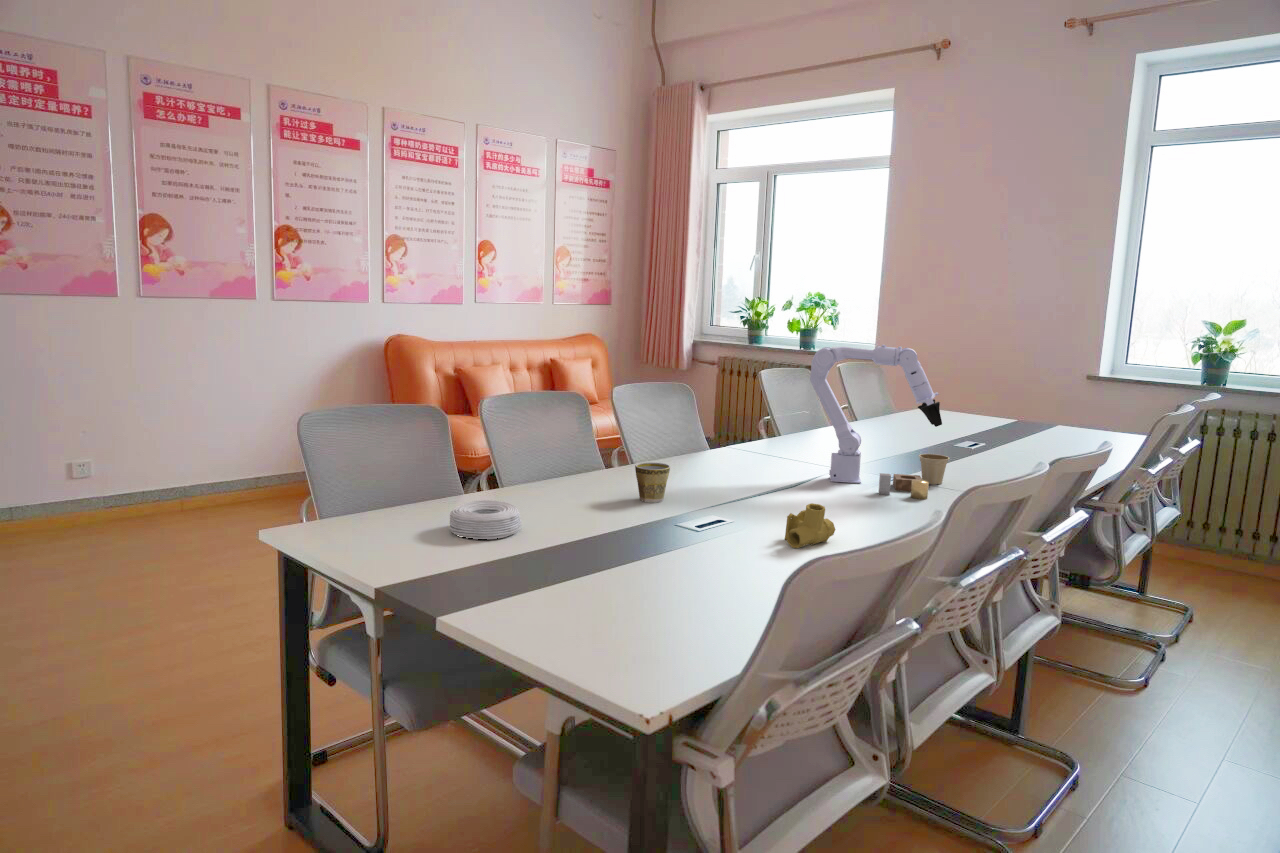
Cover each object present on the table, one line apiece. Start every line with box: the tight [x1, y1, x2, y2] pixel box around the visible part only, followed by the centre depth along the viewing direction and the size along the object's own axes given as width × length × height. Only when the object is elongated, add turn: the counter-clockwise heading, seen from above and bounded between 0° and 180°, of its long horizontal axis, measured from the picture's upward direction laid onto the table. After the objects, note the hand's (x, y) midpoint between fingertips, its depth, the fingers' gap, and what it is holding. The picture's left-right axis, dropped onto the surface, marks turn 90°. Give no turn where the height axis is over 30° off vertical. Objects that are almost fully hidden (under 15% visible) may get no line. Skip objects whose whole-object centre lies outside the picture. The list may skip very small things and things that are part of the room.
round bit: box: [910, 480, 930, 501], centre depth 256 cm, size 5×5×5 cm
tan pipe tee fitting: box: [784, 503, 836, 549], centre depth 207 cm, size 13×10×10 cm
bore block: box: [892, 473, 922, 492], centre depth 268 cm, size 8×8×4 cm
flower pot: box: [918, 453, 950, 486], centre depth 277 cm, size 9×9×9 cm
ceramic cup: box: [634, 462, 671, 503], centre depth 246 cm, size 13×10×10 cm
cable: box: [449, 499, 522, 540], centre depth 210 cm, size 18×18×6 cm
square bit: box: [878, 472, 892, 496], centre depth 260 cm, size 3×3×6 cm
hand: (937, 424), depth 266 cm, fingers open, 7 cm apart
